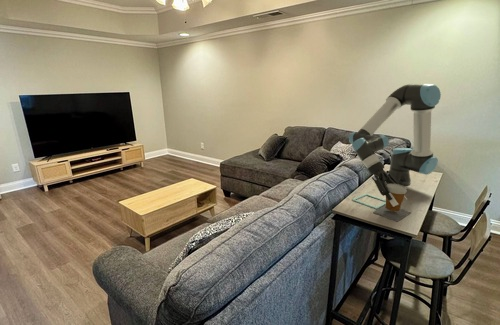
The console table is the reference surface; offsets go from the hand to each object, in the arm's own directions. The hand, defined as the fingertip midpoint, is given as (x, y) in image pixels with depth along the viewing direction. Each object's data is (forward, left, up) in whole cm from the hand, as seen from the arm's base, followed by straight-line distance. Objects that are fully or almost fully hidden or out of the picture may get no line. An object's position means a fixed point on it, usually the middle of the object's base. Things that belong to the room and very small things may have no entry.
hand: (400, 203), depth 130 cm
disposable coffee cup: (0, -3, -4) cm, 6 cm away
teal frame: (-5, -17, -7) cm, 19 cm away
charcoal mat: (0, -3, -7) cm, 7 cm away
